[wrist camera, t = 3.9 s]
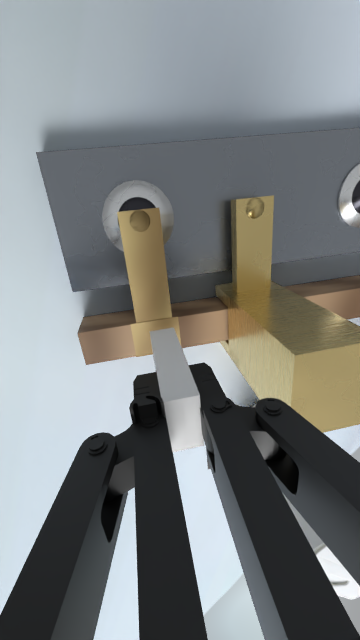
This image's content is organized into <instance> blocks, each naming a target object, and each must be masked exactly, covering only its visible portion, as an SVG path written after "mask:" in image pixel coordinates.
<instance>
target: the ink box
mask: <svg viewBox="0 0 360 640" xmlns="http://www.w3.org/2000/svg"><path fill="white" fill-rule="evenodd" d="M256 404H257V403H256ZM256 404H255V405H254V406H252V407H255V406H256ZM283 495H284V494H283ZM284 497H285V499H286V501H287V502H288V504H289V506H290V508H291V510H292V512H293V514H294V515H295V517H296V519H297V521H298V523H299V525H300V527H301V528H302V530H303V532H304V534H305V536H306V538H307V540H308V542H309V543H310V545H311V547H312V549H313V551H314V553H315V555H316V556H317V558H318V560H319V562H320V564H321V566H322V568H323V569H324V571H325V573H326V575H327V577H328V579H329V581H330V582H331V584H332V586H333V588H334V590H335V592H336V594H337V595H338V596H341V597H345V598H347V599H355V598H357V597H359V596H360V586H359V585H358V583H357V582H356V581H355V580H354V579H353V577H352V576H351V575H350V574H349V573H348V571H347V570H346V569H345V568H344V566H343V565H342V564H341V563H340V562H339V560H338V559H337V558H336V557H335V556H334V554H333V553H332V552H331V551H330V550H329V548H328V547H327V546H326V545H325V544H324V542H323V541H322V540H321V539H320V537H319V536H318V535H317V534H316V533H315V531H314V530H313V529H312V528H311V527H310V525H309V524H308V523H307V522H306V521H305V519H304V518H303V517H302V516H301V514H300V513H299V512H298V511H297V510H296V508H295V507H294V506H293V505H292V504H291V502H290V501H289V500H288V499H287V498H286V496H285V495H284Z"/></svg>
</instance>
